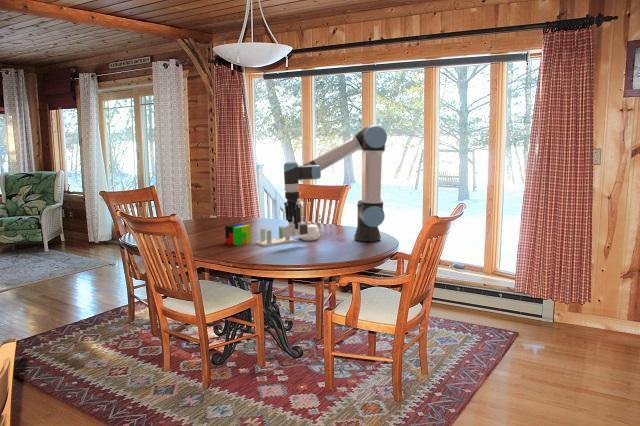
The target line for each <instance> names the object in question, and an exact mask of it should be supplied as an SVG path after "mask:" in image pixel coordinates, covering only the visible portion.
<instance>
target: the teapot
mask: <svg viewBox="0 0 640 426" xmlns="http://www.w3.org/2000/svg"><path fill="white" fill-rule="evenodd" d="M307 227H308V234H303V235H298V236H299V238H300V239H301V240H303V241H316V240H318V238H320V235H321V231H322V229H323V227H319V226H318V225H316V224H313V223H312V222H311V221H307Z"/></svg>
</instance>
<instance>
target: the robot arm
mask: <svg viewBox="0 0 640 426" xmlns="http://www.w3.org/2000/svg"><path fill="white" fill-rule="evenodd" d="M387 134H388V133H387V131H386V130H385V128H383V127H382V126H380V125H378V124H372V125H367V126H365V127H364V128H363V129H361V130H360V131H358V132H357V133H355V134H353V135H352V138H349V139H348V140H347V141H344V142H343V143H341V144H338V145H337V146H336V147H333V148H332V149H330V150H329V151H327V152H324V153H323V154H322V155H319V156H318V157H316V158H314V159H313V160H311V161H309V162H307V163H304V164H302V165H299V163H298V162H295V161H292V162H291V161H288V162H285V163H284V164H283V178H284V179H283V180H284V191H285V192H284V196H285V197H284V198H285V200H286V202H284V203H283V205H284V210H285V221H287V222H288V226H293V233H294V235H296V236H299V233H298V225H299V223H301V222H302V220H301V219H302V214H301V213H302V209H301V208H302V204H301V203H299V201H298V199H300V192H299V187H300V185H299V184H300V183H299V181H301V180H302V181H303V180H304V181H305V180H320V179H321V177H322V173H321V172H322V171H324V170H325V169H327V168H329V167H331V166H333V165H335V164H336V163H338V162H340V161H342V160H343V159H346V158H347V157H349V156H351V155H352V154H354V153H356V152H358V151H363V153H365V168H364V169H365V171H364V173H365V174H364V198H363V199H360V200H359V199H358V200H357V205H356V207H357V217H356V219H357V220H356V221H357V222H356V223H357V227H356V231H355V233H354V235H353V237H354V239H355V241H356V240H357V241H356V242H360V241H376V242H378V241H377V240H380V239H382V238H381V234H380V233H381V232H380V230H379V226H380V225H382V224H383V223H384V220H385V218H386V216H385V214H386V213H385V212H384V201H383V200H382V197H381V193H382V191H381V189H382V165H383V163H382V160H383V159H382V156H383V154H384V152H385V151H386V143H387V140H388V135H387ZM380 241H381V240H380Z"/></svg>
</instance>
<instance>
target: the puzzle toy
mask: <svg viewBox="0 0 640 426" xmlns="http://www.w3.org/2000/svg"><path fill="white" fill-rule="evenodd" d="M251 227H252V226H251V225H250V224H245V223H244V224H243V223H234V224H230V225H225V226H224V229H225V230H224V231H225V232H224V233H225V235H224V237H225V244H226V243H228V244H227V245H231V244H233V245H232V246H236V245H237V246H236V247H239V246H243V245H246V244H247V245H248V244H250V243H252V232H251V231H252V230H251ZM238 245H239V246H238Z"/></svg>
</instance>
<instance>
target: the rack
mask: <svg viewBox="0 0 640 426" xmlns="http://www.w3.org/2000/svg"><path fill="white" fill-rule="evenodd" d="M279 227H284V226H283V225H279V226H278V228H279ZM254 242H255V244H257V245H260V246H262V247H263V248H265V247H269V246H277V245H281V244H283V245H284V244H288V243H289V244H290V243H295V242H296V239H294V238H291V236H290V237H284V238H282V237H279V236H278V237H277V238H272V230H271V229H268V230H266V228H264V227H263V228H262V227H261V228H260V240H255V241H254Z"/></svg>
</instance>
